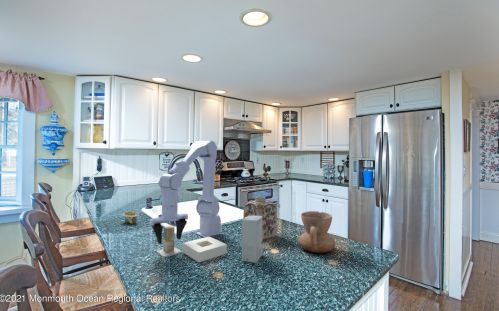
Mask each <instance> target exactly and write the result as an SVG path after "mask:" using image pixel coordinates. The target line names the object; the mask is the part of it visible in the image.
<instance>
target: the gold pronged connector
mask: <svg viewBox="0 0 499 311" xmlns="http://www.w3.org/2000/svg"><path fill="white" fill-rule="evenodd" d="M122 216H123V217H125V223H130V225H132V224H137V218H138V217H139V216H140V214H138V213H136V211H131V210H127V211H124V212H123V213H122Z"/></svg>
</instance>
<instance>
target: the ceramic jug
mask: <svg viewBox="0 0 499 311" xmlns="http://www.w3.org/2000/svg"><path fill="white" fill-rule="evenodd" d="M300 218H301V222H302V224H303V227H304V230H305V232H303V233H302V234H301V235H300V236H299V237H298V238H297V241H298V245H299V246H300V247H301V248H302V249H304V250H306V251H308V252H311V253H315V254H324V253H328V252H331V251H333V250H334V249H335V247H336V240H335V239H334V238H333V236H331V235H330V234H329V233H328V232H329V230H330V228H331V225H332V221H333V215H332V214H330V213H328V212H326V211H325V212H324V211H318V210H317V211H316V210H312V211H311V210H309V211H305V212H301V214H300Z"/></svg>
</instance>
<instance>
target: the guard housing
mask: <svg viewBox="0 0 499 311" xmlns="http://www.w3.org/2000/svg"><path fill="white" fill-rule="evenodd" d="M202 246H205V247H202ZM181 251H182V253H183V254H184V255H187V257H189V258H190V259H193V260H194V261H196V262H197V263H201V262H204V261H207V260H212V259H214V258H217V257H220V256H224V255H226V254H227V244H226V243H224V242H222V241H220V240H218V239H216V238H214V237H212V236H210V237H205V238H204V237H201V238H198V239H193V240H189V241H185V242H183V243H182V250H181Z"/></svg>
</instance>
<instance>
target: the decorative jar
mask: <svg viewBox="0 0 499 311" xmlns="http://www.w3.org/2000/svg"><path fill="white" fill-rule="evenodd" d="M249 215H252V216H262V241H263V240H268V239H271V238H274V237H277V234H278V233H277V232H278V207H277V206H276V204H274V202H273V201H271V200H268V199H266V197H265V196H255V198H254V199H251V200H248V201H247V202H246V204H245V205H244V206H243V218H242V219H244V218H245V217H247V216H249Z"/></svg>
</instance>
